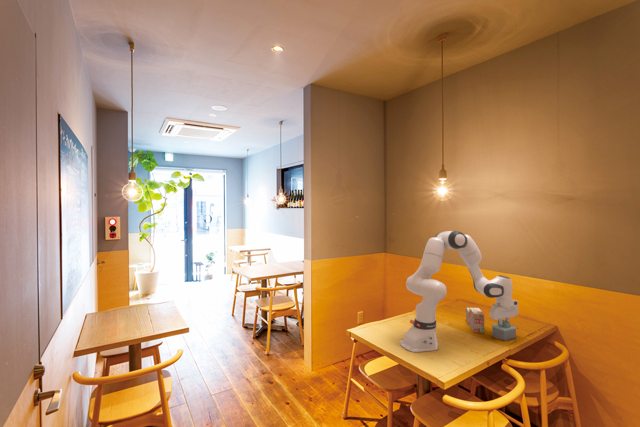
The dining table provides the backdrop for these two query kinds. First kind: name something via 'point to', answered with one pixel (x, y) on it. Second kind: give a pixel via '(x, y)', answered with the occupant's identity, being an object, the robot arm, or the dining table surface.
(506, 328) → the lid
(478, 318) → the stack of blocks
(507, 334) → the storage box
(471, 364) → the dining table surface
